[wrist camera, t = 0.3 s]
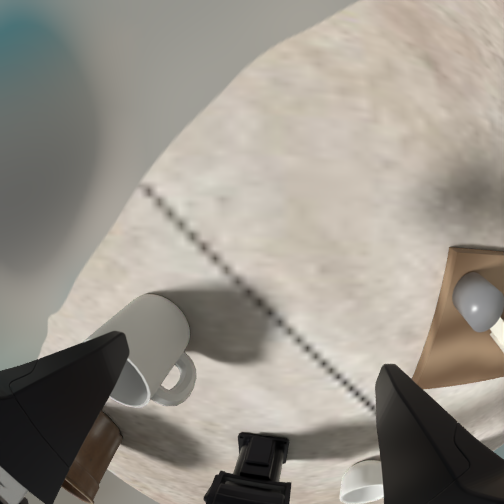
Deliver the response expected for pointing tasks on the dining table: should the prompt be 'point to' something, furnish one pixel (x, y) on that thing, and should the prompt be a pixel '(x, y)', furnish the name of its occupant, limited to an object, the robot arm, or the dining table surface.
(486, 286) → the lever
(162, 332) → the cup
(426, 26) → the dining table surface
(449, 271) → the brown flat panel
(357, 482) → the teacup
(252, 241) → the dining table surface
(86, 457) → the plant pot
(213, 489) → the robot arm
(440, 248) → the dining table surface
